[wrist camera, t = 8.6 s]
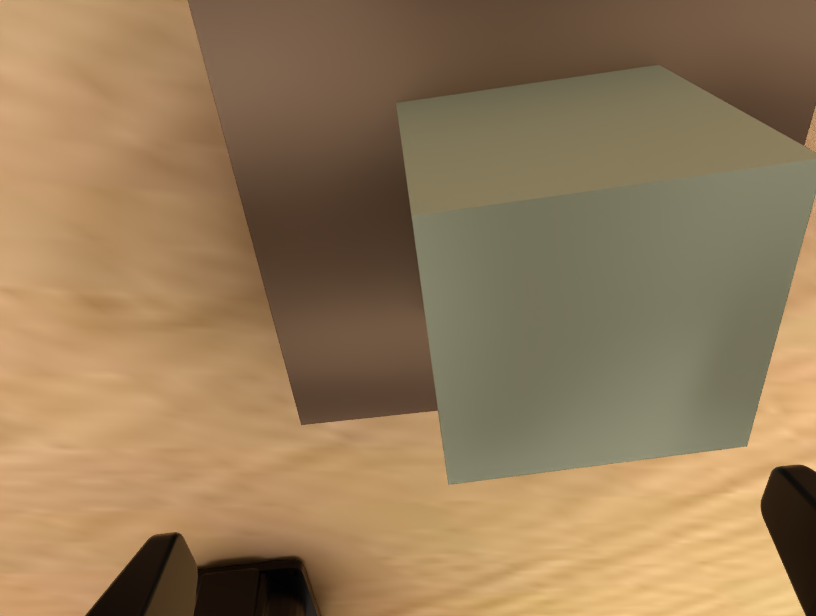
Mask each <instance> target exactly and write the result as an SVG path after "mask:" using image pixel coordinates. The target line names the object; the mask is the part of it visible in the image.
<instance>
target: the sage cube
mask: <svg viewBox="0 0 816 616" xmlns="http://www.w3.org/2000/svg"><path fill="white" fill-rule="evenodd" d="M396 106H397V113H398V121H399V128H400V135H401V143H402V150H403V157H404V165H405V172H406V179H407V187H408V194H409V201H410V209H411V216H412V224H413V231H414V238H415V246H416V253H417V260H418V268H419V275H420V282H421V290H422V297H423V304H424V312H425V319H426V326H427V334H428V341H429V348H430V355H431V363H432V370H433V377H434V384H435V392H436V399H437V406H438V413H439V421H440V428H441V435H442V442H443V450H444V457H445V464H446V471H447V479H448V485H450V484H458V483H466V482H474V481H481V480H489V479H497V478H505V477H512V476H520V475H528V474H536V473H543V472H551V471H559V470H567V469H574V468H582V467H590V466H598V465H605V464H613V463H621V462H629V461H637V460H644V459H652V458H660V457H668V456H675V455H683V454H691V453H699V452H706V451H714V450H722V449H730V448H737V447H745V446H747V444H748V441H749V437H750V433H751V429H752V426H753V422H754V418H755V415H756V411H757V407H758V404H759V400H760V396H761V393H762V389H763V385H764V382H765V378H766V374H767V371H768V367H769V363H770V360H771V356H772V352H773V349H774V345H775V341H776V338H777V334H778V330H779V326H780V323H781V319H782V315H783V312H784V308H785V304H786V301H787V297H788V293H789V290H790V286H791V282H792V279H793V275H794V271H795V268H796V264H797V260H798V257H799V253H800V249H801V246H802V242H803V238H804V235H805V231H806V227H807V224H808V220H809V216H810V212H811V209H812V205H813V201H814V198H815V194H816V152H814V151H812V150H810V149H809V148H807V147H805V146H803V145H802V144H800V143H798V142H796V141H794V140H793V139H791V138H789V137H787V136H785V135H784V134H782V133H780V132H778V131H776V130H775V129H773V128H771V127H769V126H768V125H766V124H764V123H762V122H760V121H759V120H757V119H755V118H753V117H751V116H750V115H748V114H746V113H744V112H742V111H741V110H739V109H737V108H735V107H734V106H732V105H730V104H728V103H726V102H725V101H723V100H721V99H719V98H717V97H716V96H714V95H712V94H710V93H709V92H707V91H705V90H703V89H701V88H700V87H698V86H696V85H694V84H692V83H691V82H689V81H687V80H685V79H683V78H682V77H680V76H678V75H676V74H675V73H673V72H671V71H669V70H667V69H666V68H664V67H662V66H660V65H653V66H646V67H639V68H633V69H626V70H619V71H612V72H605V73H598V74H591V75H584V76H577V77H571V78H564V79H557V80H550V81H543V82H536V83H529V84H522V85H516V86H509V87H502V88H495V89H488V90H481V91H474V92H467V93H461V94H454V95H447V96H440V97H433V98H426V99H419V100H412V101H406V102H399V103H396Z"/></svg>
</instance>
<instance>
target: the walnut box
mask: <svg viewBox="0 0 816 616" xmlns="http://www.w3.org/2000/svg"><path fill="white" fill-rule="evenodd" d="M188 3H189V7H190V10H191V14H192V18H193V22H194V25H195V29H196V33H197V37H198V40H199V44H200V48H201V52H202V55H203V59H204V63H205V67H206V70H207V74H208V78H209V82H210V85H211V89H212V93H213V96H214V100H215V104H216V108H217V111H218V115H219V119H220V123H221V126H222V130H223V134H224V138H225V141H226V145H227V149H228V153H229V156H230V160H231V164H232V168H233V171H234V175H235V179H236V183H237V186H238V190H239V194H240V197H241V201H242V205H243V209H244V212H245V216H246V220H247V224H248V227H249V231H250V235H251V239H252V242H253V246H254V250H255V254H256V257H257V261H258V265H259V269H260V272H261V276H262V280H263V283H264V287H265V291H266V295H267V298H268V302H269V306H270V310H271V313H272V317H273V321H274V325H275V328H276V332H277V336H278V340H279V343H280V347H281V351H282V355H283V358H284V362H285V366H286V370H287V373H288V377H289V381H290V384H291V388H292V392H293V396H294V399H295V403H296V407H297V411H298V414H299V418H300V422H301V425H306V424H315V423H324V422H334V421H343V420H353V419H362V418H372V417H381V416H390V415H400V414H409V413H419V412H428V411H437V410H438V406H437V399H436V392H435V384H434V377H433V370H432V363H431V355H430V348H429V341H428V334H427V326H426V319H425V312H424V304H423V297H422V290H421V282H420V275H419V268H418V260H417V253H416V246H415V238H414V231H413V224H412V216H411V209H410V201H409V194H408V187H407V179H406V172H405V165H404V157H403V150H402V143H401V135H400V128H399V121H398V113H397V106H396V103H399V102H406V101H412V100H419V99H426V98H433V97H440V96H447V95H454V94H461V93H467V92H474V91H481V90H488V89H495V88H502V87H509V86H516V85H522V84H529V83H536V82H543V81H550V80H557V79H564V78H571V77H577V76H584V75H591V74H598V73H605V72H612V71H619V70H626V69H633V68H639V67H646V66H653V65H660V66H662V67H664V68H666V69H667V70H669V71H671V72H673V73H675V74H676V75H678V76H680V77H682V78H683V79H685V80H687V81H689V82H691V83H692V84H694V85H696V86H698V87H700V88H701V89H703V90H705V91H707V92H709V93H710V94H712V95H714V96H716V97H717V98H719V99H721V100H723V101H725V102H726V103H728V104H730V105H732V106H734V107H735V108H737V109H739V110H741V111H742V112H744V113H746V114H748V115H750V116H751V117H753V118H755V119H757V120H759V121H760V122H762V123H764V124H766V125H768V126H769V127H771V128H773V129H775V130H776V131H778V132H780V133H782V134H784V135H785V136H787V137H789V138H791V139H793V140H794V141H796V142H798V143H800V144H802V145H803V146H804V144H805V140H806V137H807V133H808V130H809V126H810V123H811V120H812V116H813V113H814V109H815V106H816V0H188Z"/></svg>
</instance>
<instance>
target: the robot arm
mask: <svg viewBox="0 0 816 616" xmlns="http://www.w3.org/2000/svg"><path fill="white" fill-rule="evenodd" d="M761 512H762V516H763V519H764V521H765V523H766V526H767V528H768V530H769V533H770V535H771V537H772V540H773V542H774V544H775V547H776V549H777V551H778V553H779V556H780V558H781V560H782V563H783V565H784V567H785V570H786V572H787V574H788V577H789V579H790V581H791V584H792V586H793V588H794V591H795V593H796V595H797V597H798V600H799V602H800V604H801V606H802V608H803V610H804V613H805V615H806V616H816V472H815V471H814V470H812V469H810V468H809V467H806V466H804V465H789V466H780V467H776V468H775V469H773V470H772V472H771V474H770V477H769V480H768V482H767V485H766V488H765V491H764V494H763V496H762V499H761ZM85 616H321V615H320V612H319V609H318V606H317V603H316V601H315V598H314V595H313V592H312V589H311V586H310V583H309V580H308V577H307V574H306V571H305V568H304V565H303V564H302V562H300V561H298V560H285V561H276V562H267V563H258V564H249V565H240V566H231V567H222V568H213V569H204V570H197V566H196V562H195V560H194V558H193V556H192V554H191V552H190V550H189V548H188V546H187V543H186V541H185V539H184V537H183V536H182V535H181V534H180V533H177V532H174V533H165V534H157V535H154V536H152V537H151V538H149V539H148V540H147V541H146V543H145V544H144V545H143V546H142V547H141V549H140V550H139V551H138V552H137V553H136V555H135V556H134V557H133V558H132V560H131V561H130V562H129V563H128V564H127V566H126V567H125V568H124V569H123V570H122V572H121V573H120V574H119V575H118V576H117V578H116V579H115V580H114V581H113V583H112V584H111V585H110V586H109V587H108V589H107V590H106V591H105V592H104V593H103V595H102V596H101V597H100V598H99V599H98V601H97V602H96V603H95V604H94V605H93V607H92V608H91V609H90V610H89V612H88V613H87V614H86V615H85Z"/></svg>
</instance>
